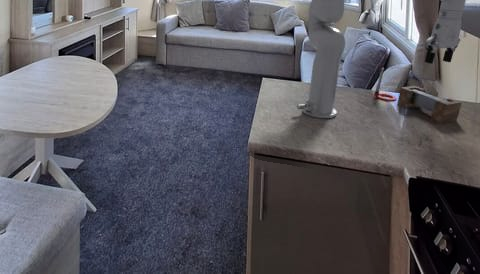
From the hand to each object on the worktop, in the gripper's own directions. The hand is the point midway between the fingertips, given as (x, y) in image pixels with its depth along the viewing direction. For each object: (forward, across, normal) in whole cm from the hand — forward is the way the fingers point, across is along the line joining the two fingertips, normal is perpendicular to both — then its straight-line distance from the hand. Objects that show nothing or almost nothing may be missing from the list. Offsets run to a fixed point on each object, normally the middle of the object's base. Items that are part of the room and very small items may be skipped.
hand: (437, 62), depth 147 cm
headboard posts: (+20, 0, 0) cm, 20 cm away
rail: (+18, 0, 0) cm, 18 cm away
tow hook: (+21, -2, +20) cm, 29 cm away
